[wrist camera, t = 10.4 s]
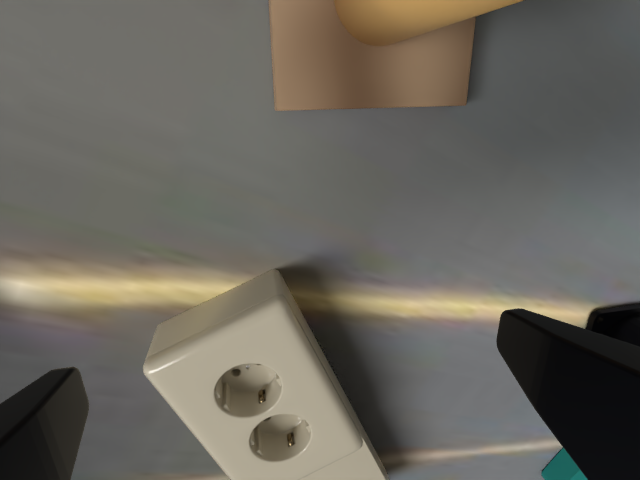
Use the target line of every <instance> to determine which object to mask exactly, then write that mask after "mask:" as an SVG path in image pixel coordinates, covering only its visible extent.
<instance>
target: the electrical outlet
mask: <svg viewBox="0 0 640 480" xmlns="http://www.w3.org/2000/svg"><path fill="white" fill-rule="evenodd" d="M143 371H144V374H145V376H146V377H147V378H148V380H149V381H150V382H151V383H152V384H153V386H154V387H155V388H156V389H157V391H158V392H159V393H160V394H161V395H162V397H163V398H164V399H165V400H166V402H167V403H168V404H169V405H170V406H171V408H172V409H173V410H174V411H175V413H176V414H177V415H178V416H179V417H180V419H181V420H182V421H183V422H184V424H185V425H186V426H187V427H188V428H189V430H190V431H191V432H192V433H193V435H194V436H195V437H196V438H197V439H198V441H199V442H200V443H201V444H202V446H203V447H204V448H205V449H206V450H207V452H208V453H209V454H210V455H211V457H212V458H213V459H214V460H215V461H216V463H217V464H218V465H219V466H220V468H221V469H222V470H223V471H224V472H225V474H226V475H227V476H228V477H229V479H230V480H390V479H389V476H388V474H387V471H386V469H385V467H384V465H383V463H382V461H381V460H380V458H379V456H378V454H377V452H376V450H375V448H374V447H373V445H372V443H371V441H370V439H369V437H368V435H367V434H366V432H365V430H364V428H363V426H362V424H361V422H360V421H359V419H358V417H357V415H356V413H355V411H354V409H353V408H352V406H351V404H350V402H349V400H348V398H347V396H346V395H345V393H344V391H343V389H342V387H341V385H340V383H339V381H338V380H337V378H336V376H335V374H334V372H333V370H332V368H331V367H330V365H329V363H328V361H327V359H326V357H325V355H324V354H323V352H322V350H321V348H320V346H319V344H318V342H317V341H316V339H315V337H314V335H313V333H312V331H311V329H310V328H309V326H308V324H307V322H306V320H305V318H304V316H303V315H302V313H301V311H300V309H299V307H298V305H297V303H296V302H295V300H294V298H293V296H292V294H291V292H290V290H289V289H288V287H287V285H286V283H285V281H284V279H283V277H282V275H281V274H280V272H279V271H278V270H276V269H273V270H270V271H268V272H266V273H264V274H262V275H260V276H258V277H256V278H254V279H252V280H250V281H247V282H245V283H243V284H241V285H239V286H237V287H235V288H233V289H231V290H229V291H227V292H225V293H222V294H220V295H218V296H216V297H214V298H212V299H210V300H208V301H206V302H204V303H202V304H200V305H197V306H195V307H193V308H191V309H189V310H187V311H185V312H183V313H181V314H179V315H177V316H175V317H172V318H170V319H168V320H166V321H164V322H162V323H160V324H159V325H158V326H157V328H156V331H155V334H154V337H153V339H152V342H151V345H150V348H149V351H148V354H147V356H146V359H145V363H144V366H143Z"/></svg>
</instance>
